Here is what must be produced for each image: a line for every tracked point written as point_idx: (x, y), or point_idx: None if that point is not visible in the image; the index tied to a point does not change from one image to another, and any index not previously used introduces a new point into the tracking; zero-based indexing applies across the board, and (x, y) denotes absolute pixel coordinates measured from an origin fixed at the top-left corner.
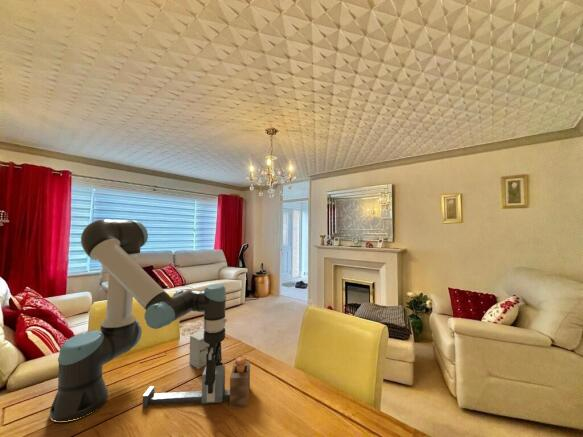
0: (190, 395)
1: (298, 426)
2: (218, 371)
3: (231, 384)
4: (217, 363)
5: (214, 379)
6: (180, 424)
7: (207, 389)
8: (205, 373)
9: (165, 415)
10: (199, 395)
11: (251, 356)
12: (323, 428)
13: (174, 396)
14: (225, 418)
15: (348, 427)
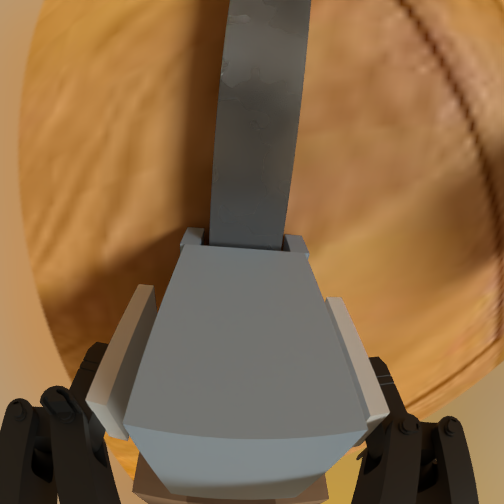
0: (238, 136)
1: (119, 448)
2: (205, 489)
3: (140, 461)
4: (380, 457)
5: (102, 454)
6: (48, 142)
7: (107, 353)
8: (156, 447)
9: (124, 17)
10: (224, 216)
11: (472, 372)
12: (124, 462)
13: (249, 5)
14: (101, 342)
15: (134, 475)
